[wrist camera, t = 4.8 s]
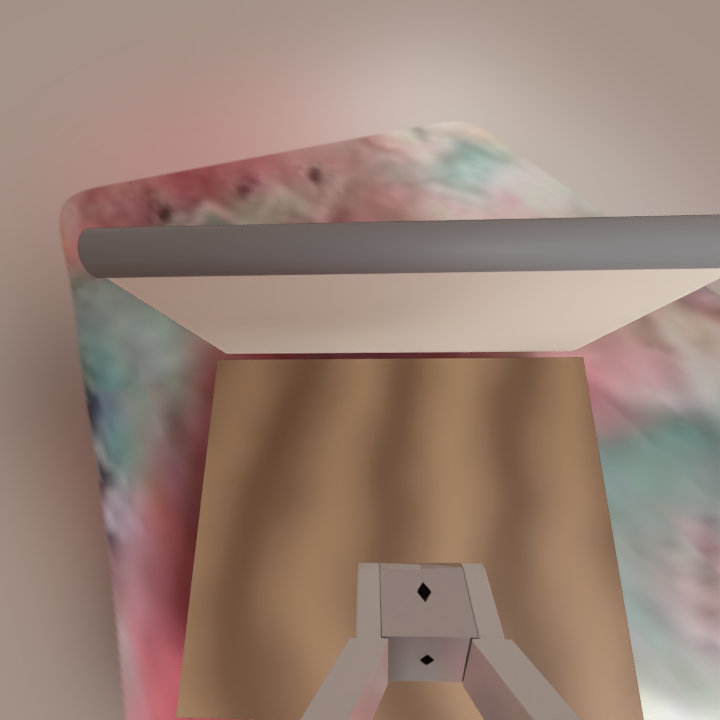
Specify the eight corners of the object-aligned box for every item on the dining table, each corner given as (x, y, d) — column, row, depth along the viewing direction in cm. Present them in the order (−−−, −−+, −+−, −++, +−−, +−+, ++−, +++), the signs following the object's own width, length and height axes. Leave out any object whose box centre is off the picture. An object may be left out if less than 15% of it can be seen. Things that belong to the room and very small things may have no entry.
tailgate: (570, 328, 24) (774, 202, 11) (573, 354, 23) (787, 252, 11) (228, 332, 24) (82, 218, 12) (226, 356, 24) (74, 264, 12)
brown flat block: (553, 374, 27) (583, 357, 23) (598, 687, 22) (645, 732, 18) (239, 376, 28) (217, 360, 24) (209, 676, 23) (175, 717, 19)
